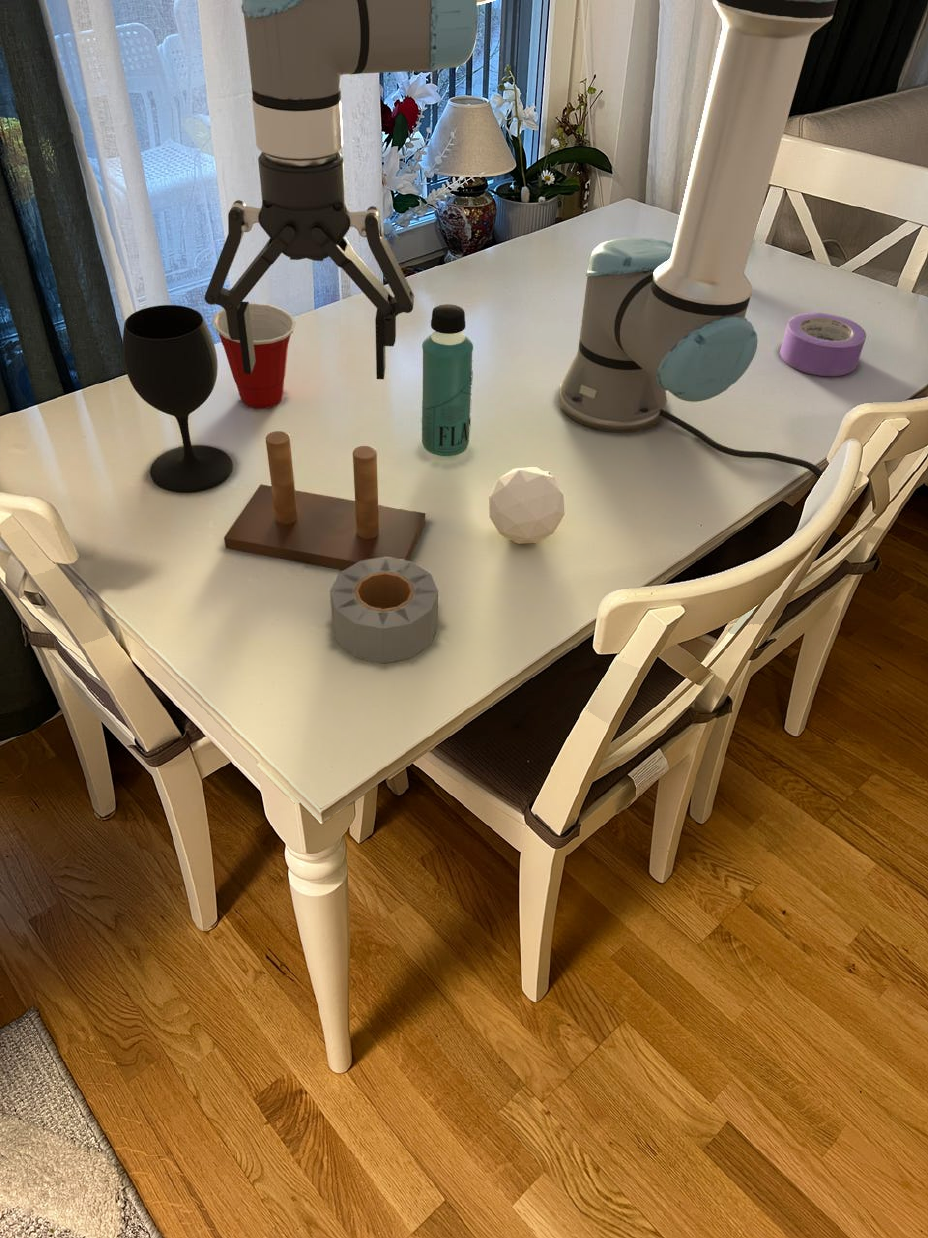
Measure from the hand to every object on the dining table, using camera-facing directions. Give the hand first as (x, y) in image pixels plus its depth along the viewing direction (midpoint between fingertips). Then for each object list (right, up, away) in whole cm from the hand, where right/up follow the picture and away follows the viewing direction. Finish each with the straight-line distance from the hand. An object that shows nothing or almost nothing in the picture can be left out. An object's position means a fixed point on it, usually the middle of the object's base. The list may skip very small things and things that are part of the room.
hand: (315, 370), depth 98 cm
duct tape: (+7, -27, +3) cm, 28 cm away
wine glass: (-19, -7, +22) cm, 30 cm away
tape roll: (+71, +15, +51) cm, 89 cm away
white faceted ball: (+24, -15, +16) cm, 32 cm away
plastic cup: (-13, +5, +36) cm, 38 cm away
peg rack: (-1, -16, +13) cm, 21 cm away
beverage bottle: (+13, -4, +27) cm, 30 cm away
